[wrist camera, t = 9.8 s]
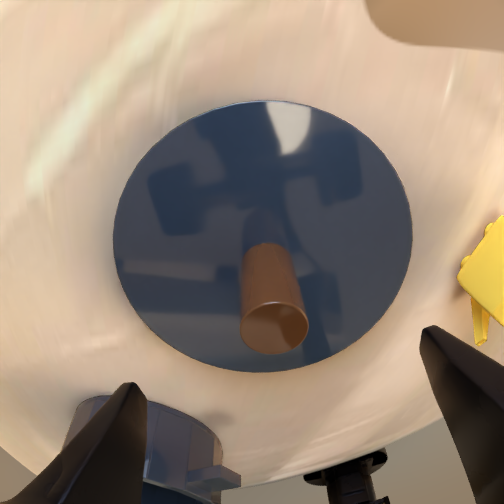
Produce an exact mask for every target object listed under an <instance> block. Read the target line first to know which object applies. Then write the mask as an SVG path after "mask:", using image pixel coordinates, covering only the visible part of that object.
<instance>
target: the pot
mask: <svg viewBox="0 0 504 504" xmlns="http://www.w3.org/2000/svg"><path fill="white" fill-rule="evenodd" d="M110 397H111V396H99V397H93V398H90V399H87V400H85V401H83V402H82V403H81V404H80V405H79V406H78V408H77V409H76V412H75V414H74V417H73V419H72V422H71V424H70V427H69V430H68V432H67V435H66V438H65V440H64V443H63V446H62V449H61V451H62V450H63V449H64V448H65V447H66V446H67V444H68V443H69V442H70V441H71V440H72V439H73V438H74V437H75V436H76V434H77V433H78V432H79V431H80V430H81V429H82V428H83V427H84V426H85V424H86V423H87V422H88V421H89V420H90V419H91V418H92V417H93V416H94V414H95V413H96V412H97V411H98V410H99V409H100V408H101V407H102V406H103V405H104V403H105V402H106V401H107V400H108V399H109V398H110ZM147 403H148V408H147V447H146V456H145V465H144V475H143V485H142V496H141V504H221V490H227V489H233V488H238V487H241V475H239V474H237V473H235V472H233V471H232V470H230V469H228V468H226V467H224V466H222V450H221V444H220V441H219V439H218V438H217V436H216V435H215V434H214V433H213V432H212V431H211V430H210V429H209V428H208V427H207V426H205V425H204V424H203V423H201V422H199V421H198V420H196V419H194V418H192V417H191V416H189V415H187V414H184V413H182V412H180V411H178V410H175V409H172V408H170V407H167V406H164V405H161V404H158V403H154V402H150V401H147Z"/></svg>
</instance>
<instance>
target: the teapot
mask: <svg viewBox="0 0 504 504" xmlns="http://www.w3.org/2000/svg"><path fill="white" fill-rule="evenodd" d="M484 235H485V236H484V238H483V239H482V240H481V242H480V243H479V245H478V246H477V247H476V249H475V250H474V252H473V253H472V255H471V256H470V255H468V256H466V257H465V258H464V259H463V260H462V262H461V270H460V272H459V273H458V275H457V280H458V282H459V283H460V285H461V286H462V288H463V289H464V290H465V291H466V292H467V293H468V294H469V295H470V296H471V297H472V298H471V306H472V315H473V325H474V338H475V345H477V346H480V345H482V344H483V343H484V342H486V341H487V332H488V324H489V316H490V315H491V316H492V317H493V318H494V319H495V320H496V321H497V322H499V323H500V324H501V325H502V326H503V327H504V216H500V217H499V218H498V219H497V221H496V222H495V223H490V224H488V225H487V227H486V228H485V232H484Z"/></svg>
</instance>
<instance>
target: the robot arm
mask: <svg viewBox="0 0 504 504" xmlns="http://www.w3.org/2000/svg"><path fill="white" fill-rule="evenodd" d="M419 349H420V355H421V357H422V360H423V363H424V366H425V369H426V372H427V375H428V378H429V381H430V384H431V387H432V390H433V393H434V396H435V398H436V400H437V403H438V405H439V407H440V409H441V412H442V414H443V416H444V419H445V421H446V423H447V426H448V428H449V430H450V433H451V435H452V438H453V440H454V443H455V445H456V447H457V450H458V453H459V455H460V458H461V460H462V463H463V466H464V468H465V471H466V474H467V477H468V480H469V482H470V485H471V488H472V491H473V494H474V497H475V501H476V504H504V366H502V365H501V364H499V363H498V362H496V361H494V360H493V359H491V358H489V357H488V356H486V355H485V354H483V353H481V352H480V351H478V350H476V349H475V348H473V347H471V346H470V345H468V344H466V343H465V342H463V341H461V340H460V339H458V338H456V337H455V336H453V335H451V334H450V333H448V332H446V331H445V330H443V329H441V328H440V327H438V326H436V325H432V326H429V327H426V328H424V329H423V330H422V335H421V341H420V347H419ZM147 408H148V403H147V399H146V397H145V395H144V394H143V392H142V391H141V389H140V388H139V387H138V385H137V384H136V383H134V382H128V383H123V384H122V385H121V386H120V387H119V388H118V389H117V390H116V391H115V392H114V393H113V395H112V396H111V397H110V398H109V399H108V400H107V401H106V402H105V403H104V405H103V406H102V407H101V408H100V409H99V410H98V411H97V412H96V413H95V414H94V416H93V417H92V418H91V419H90V420H89V421H88V422H87V423H86V424H85V426H84V427H83V428H82V429H81V430H80V431H79V432H78V433H77V434H76V436H75V437H74V438H73V439H72V440H71V441H70V442H69V443H68V444H67V446H66V447H65V448H64V449H63V450H62V451H61V452H60V454H58V455H57V457H56V458H55V459H54V460H53V461H52V462H51V463H50V464H49V465H48V466H47V467H46V468H45V469H44V470H43V471H42V472H41V473H40V474H39V475H38V476H37V477H36V478H35V479H34V480H33V481H32V482H31V483H30V484H29V485H27V486H26V487H25V488H24V489H23V490H22V491H21V492H20V493H19V494H18V495H16V496H15V497H13V498H12V499H10V500H8V501H5V502H0V504H141V496H142V485H143V475H144V465H145V456H146V447H147ZM372 462H373V457H372V456H367V457H364V458H360V459H356V460H352V461H348V462H343V463H340V464H337V465H334V466H331V467H328V468H325V469H322V470H321V476H322V483H323V485H326V487H327V493H328V500H329V504H390V501H389V498H388V496H386V497H384V498H382V499H379V500H376V495H375V491H374V487H373V483H372V479H371V475H370V471H371V467H372Z"/></svg>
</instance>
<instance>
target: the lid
mask: <svg viewBox="0 0 504 504" xmlns="http://www.w3.org/2000/svg"><path fill="white" fill-rule="evenodd" d="M412 241H413V235H412V218H411V212H410V206H409V202H408V199H407V196H406V193H405V190H404V187H403V185H402V182H401V180H400V178H399V176H398V174H397V173H396V171H395V169H394V167H393V166H392V164H391V163H390V162H389V160H388V159H387V157H386V156H385V155H384V153H383V152H382V151H381V150H380V149H379V148H378V147H377V146H376V145H375V144H374V143H373V142H372V141H371V140H370V139H369V138H368V137H367V136H366V135H364V134H363V133H362V132H360V131H359V130H358V129H357V128H355V127H354V126H352V125H351V124H349V123H348V122H346V121H344V120H342V119H340V118H338V117H336V116H335V115H333V114H331V113H328V112H325V111H322V110H320V109H317V108H314V107H311V106H307V105H302V104H297V103H292V102H287V101H269V100H258V101H248V102H239V103H234V104H230V105H226V106H222V107H219V108H215V109H212V110H209V111H207V112H205V113H202V114H200V115H198V116H196V117H193V118H191V119H189V120H188V121H186V122H184V123H183V124H181V125H179V126H178V127H176V128H175V129H173V130H172V131H170V132H169V133H168V134H167V135H165V136H164V137H163V138H162V139H161V140H160V141H158V142H157V143H156V144H155V145H154V146H153V147H152V148H151V149H150V150H149V151H148V152H147V154H146V155H145V156H144V157H143V158H142V159H141V161H140V162H139V163H138V165H137V166H136V168H135V169H134V171H133V173H132V174H131V176H130V178H129V179H128V181H127V183H126V185H125V188H124V190H123V192H122V195H121V197H120V200H119V204H118V207H117V211H116V215H115V221H114V231H113V249H114V259H115V264H116V269H117V273H118V276H119V279H120V282H121V285H122V288H123V290H124V292H125V294H126V296H127V298H128V300H129V302H130V304H131V305H132V307H133V308H134V309H135V311H136V312H137V314H138V315H139V317H140V318H141V319H142V320H143V321H144V323H145V324H146V325H147V326H148V327H149V328H150V329H151V330H152V331H153V332H154V333H155V334H156V335H157V336H159V337H160V338H161V339H162V340H163V341H165V342H166V343H167V344H169V345H170V346H172V347H173V348H175V349H176V350H178V351H180V352H181V353H183V354H185V355H187V356H189V357H191V358H193V359H196V360H198V361H200V362H203V363H205V364H209V365H212V366H215V367H219V368H223V369H228V370H233V371H240V372H252V373H265V372H278V371H286V370H291V369H296V368H301V367H304V366H307V365H310V364H314V363H317V362H319V361H321V360H324V359H326V358H328V357H331V356H333V355H335V354H336V353H338V352H340V351H342V350H344V349H345V348H347V347H348V346H350V345H351V344H353V343H354V342H356V341H357V340H358V339H360V338H361V337H362V336H363V335H364V334H365V333H367V332H368V331H369V330H370V329H371V328H372V327H373V326H374V325H375V324H376V323H377V322H378V321H379V320H380V318H381V317H382V316H383V315H384V313H385V312H386V311H387V309H388V308H389V307H390V305H391V304H392V302H393V300H394V299H395V297H396V295H397V293H398V292H399V290H400V288H401V285H402V283H403V280H404V278H405V275H406V272H407V269H408V265H409V261H410V257H411V249H412Z"/></svg>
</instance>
